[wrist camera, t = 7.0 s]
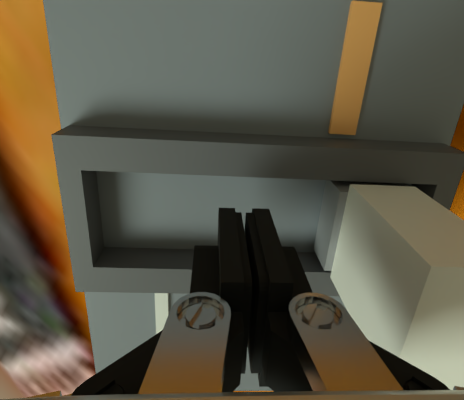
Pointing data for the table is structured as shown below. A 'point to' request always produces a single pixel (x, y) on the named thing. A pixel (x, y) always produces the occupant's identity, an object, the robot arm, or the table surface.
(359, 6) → the console
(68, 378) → the table surface
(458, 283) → the fader
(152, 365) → the robot arm
